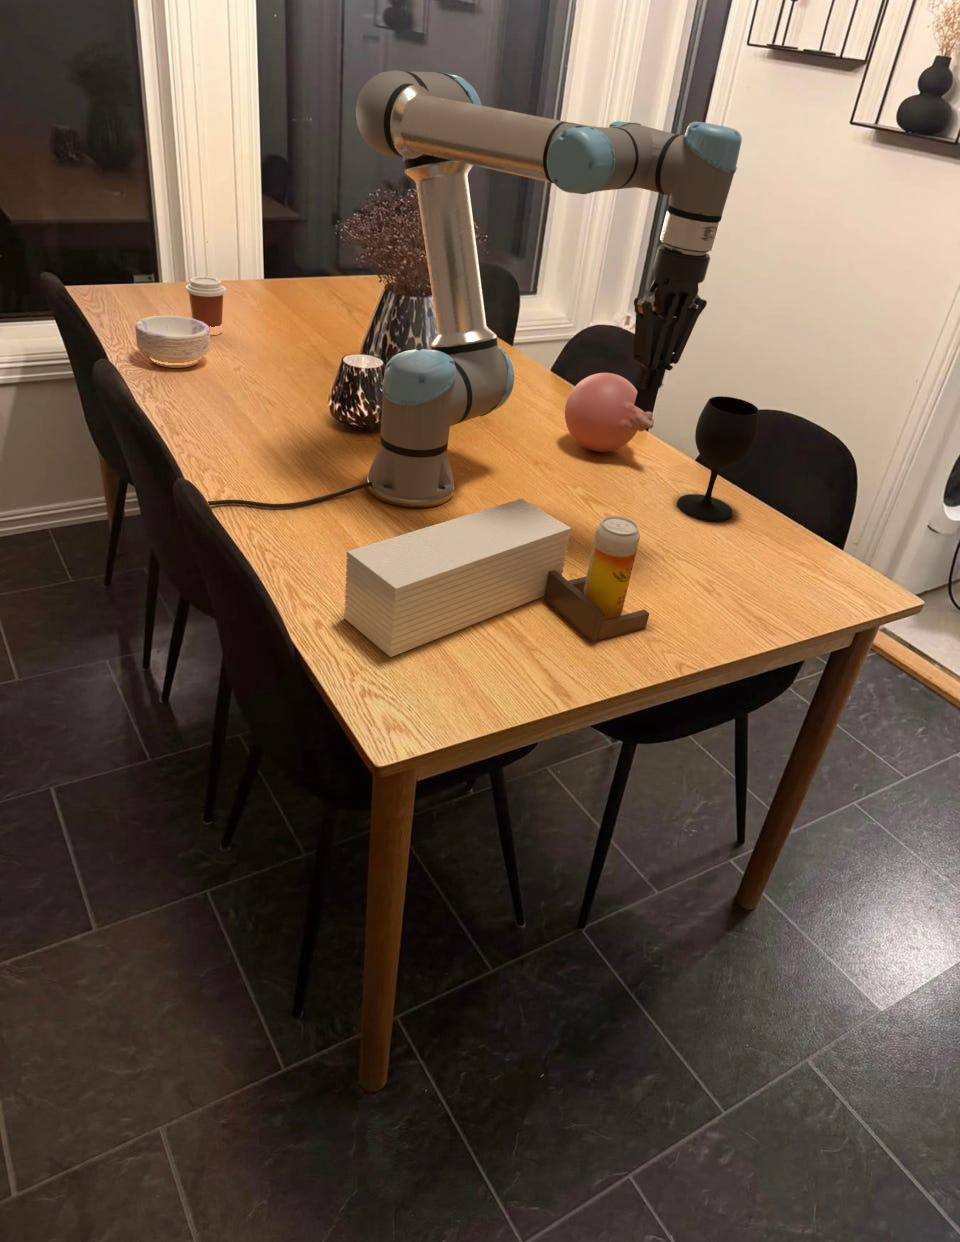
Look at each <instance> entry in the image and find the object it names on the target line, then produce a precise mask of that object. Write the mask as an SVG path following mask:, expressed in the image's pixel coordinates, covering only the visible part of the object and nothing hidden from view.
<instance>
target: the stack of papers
mask: <svg viewBox="0 0 960 1242" xmlns="http://www.w3.org/2000/svg"><path fill="white" fill-rule="evenodd" d="M571 532H572V527H571V526H568V525H567V524H566V523H563V522H562V521H561V520H559V519H557V518H555V517H553V515H550V514H548V513H547V512H545V511H543V510H542V509H540V508H538V507H536V505H533V504H532V503H530V502H528V501H527V500H525V499H523V498H518V499H515V500H512V501H508V502H505V503H502V504H499V505H495V506H491V507H489V508H486V509H482V510H479V511H476V512H472V513H469V514H466V515H462V516H459V517H456V518H453V519H450V520H446V521H442V522H439V523H437V524H433V525H430V526H426V527H423V528H419V529H417V530H416V529H415V530H413V531H410V532H406V533H403V534H399V535H397V536H393V537H390V538H387V539H383V540H379V541H376V542H373V543H371V544H366V545H364V546H360V547H357V548H354V549H350V550H347V551H346V565H345V566H346V567H345V568H346V571H345V576H346V577H345V589H344V590H345V591H344V592H345V593H344V594H345V595H344V600H345V601H344V606H345V607H344V617H343V619H344V620H346V621H347V622H348V623H349V624H350V625H352V627H354V628H355V629H356V630H358V631H359V632H360V633H361V634H362V635H364V636H365V638H367V639H368V640H369V641H370V642H372V644H374V645H375V646H377V647H378V648H379V649H380V650H381V651H382V652H384V653H385V654H386V655H387V656H389V658H392V657H394V656H397V655H400V654H402V653H405V652H407V651H409V650H412V649H414V648H417V647H420V646H423V645H425V644H427V643H430V642H433V641H435V640H438V639H440V638H442V637H445V636H447V635H450V634H452V633H455V632H457V631H461V630H463V629H466V628H469V627H470V626H473V625H475V624H478V623H480V622H482V621H483V622H484V621H485V620H488V619H490V618H493V617H495V616H497V615H500V614H503V613H505V612H507V611H510V610H513V609H515V608H518V607H520V606H522V605H525V604H528V603H530V602H533V601H536V600H537V599H540V598H544V594H545V588H546V583H547V577H548V572H549V571H552V570H556V571H557V572H558V573H559V574H560V575H562V576H563V573H564V567H565V562H566V559H567V558H566V557H567V552H568V548H569V547H568V545H569V544H570V543H569V542H570V539H571V538H570V537H571Z"/></svg>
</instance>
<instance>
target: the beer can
mask: <svg viewBox="0 0 960 1242" xmlns="http://www.w3.org/2000/svg"><path fill="white" fill-rule="evenodd" d="M640 538H641V534H640V527H639V525H638V523H637V522H635V521H634V520H632V519H630V518H627V517H624V516H619V515H609V516H605V517H603V518H602V519H601V521H600V523H598V525H597V527H596V529H595V534H594V539H593V545H592V548H591V554H590V559H589V563H588V569H587V574H586V576H587V577H586V576H585V577H586V582H585V587H584V592H583V594H584V595H585V596H586V597H587V598H588V599H589V600H591V601H592V602H593V603H594V604H595V605H596V606H598V607H599V608H600V609H601V610H602V611H603V612H604V613H603V617H602V620H606V619H610V618H614V617H617V616H621V615H623V610H624V606H625V601H626V597H627V593H628V589H629V586H630V585H629V584H630V580H631V576H632V572H633V568H634V563H635V559H636V555H637V552H638V547H639V542H640Z"/></svg>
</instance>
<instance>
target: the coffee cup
mask: <svg viewBox="0 0 960 1242" xmlns="http://www.w3.org/2000/svg"><path fill="white" fill-rule="evenodd" d="M185 292H186V293H187V294H188V299H189V302H190V303H189V304H190V311H191V318H192V319H196V320H199V321H201V322H203V323H205V324H206V325H207V326H209V327H210V326H211V327H215V326H220V325H221V324H222V325H223V309H224V295H225V294H226V293H227V287H225V286H224V285H223V284H222V281H221V280H220V279H219V278H217V277H213V276H207V275H206V276H203V275H198V276H193V277H191V278H189V283H188V284H186V286H185Z"/></svg>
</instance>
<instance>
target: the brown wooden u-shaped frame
mask: <svg viewBox="0 0 960 1242" xmlns="http://www.w3.org/2000/svg"><path fill="white" fill-rule="evenodd" d="M586 577H587V575H586V576H582V577H577V578H574V579H569V580H568V579H567V578H565V577H564V576H563V574H562V575H560V574H559V573H558V572H557V571H556V570H552V571H549V572H548V577H547V583H546V588H545V594H544V596H543V601H544V602H545V603H547V605H548V606H550V607H551V608H552V609H553V610H554V611H555V612H556V613H557V614H558V615H559V616H561V617H562V618H563V619H564V620H565V621H566V622H567V623H568V624H569V625H571V626H572V628H574V629H575V630H576V632H578V633H579V634H581V636H583V638H585V639H586V641H588V642H589V643H596V642H599V641H602V640H605V639H609V638H613V637H617V636H620V635H624V634H627V633H632V632H634V631H638V630H643V629H646V628H647V625H648V621H649V617H650V613H649V612H648V611H647V610H646V609H641V610H637V611H633V612H629V613H626V614H621V616H617V617H614V618H610V619H606V620H602V617H603V613H604V612H603V611H602V610H601V609H600V608H599V607H598V606H596V605H595V604H594V603H593V602H592V601H591V600H589V599H588V598H587V597H586V596H585V595H584V594H583V592H584V587H585V582H586Z"/></svg>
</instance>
